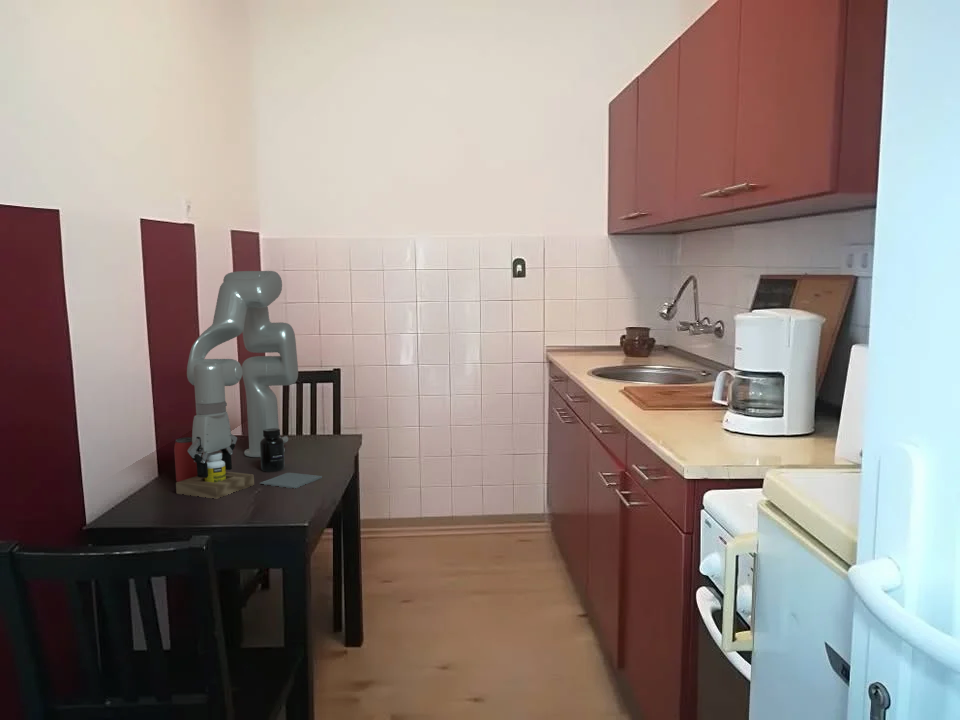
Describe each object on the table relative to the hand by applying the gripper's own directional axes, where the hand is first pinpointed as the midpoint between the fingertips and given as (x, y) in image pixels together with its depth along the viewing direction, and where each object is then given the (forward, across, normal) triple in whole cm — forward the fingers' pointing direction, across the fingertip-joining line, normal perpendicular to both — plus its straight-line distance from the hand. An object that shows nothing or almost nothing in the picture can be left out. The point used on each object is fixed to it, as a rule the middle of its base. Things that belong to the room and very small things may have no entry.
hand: (215, 472), depth 204 cm
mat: (+5, -14, +14) cm, 20 cm away
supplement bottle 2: (+5, -23, 0) cm, 23 cm away
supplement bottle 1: (+5, 0, 0) cm, 5 cm away
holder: (+5, 0, 0) cm, 5 cm away
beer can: (+5, -4, -14) cm, 15 cm away
